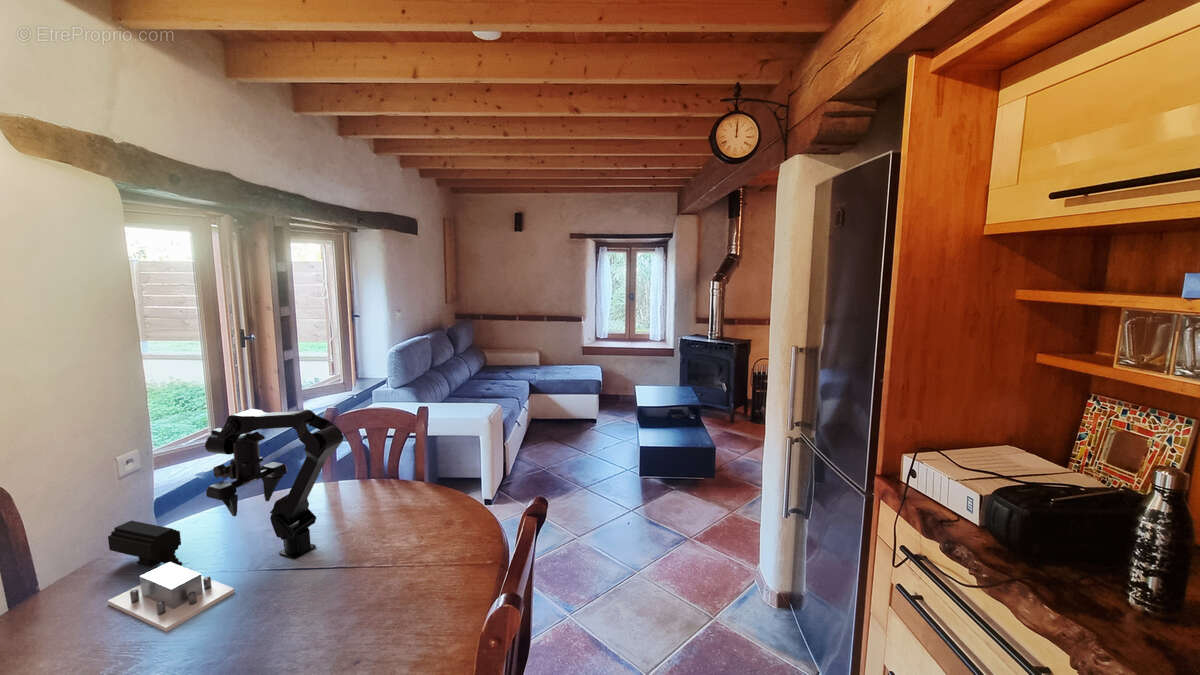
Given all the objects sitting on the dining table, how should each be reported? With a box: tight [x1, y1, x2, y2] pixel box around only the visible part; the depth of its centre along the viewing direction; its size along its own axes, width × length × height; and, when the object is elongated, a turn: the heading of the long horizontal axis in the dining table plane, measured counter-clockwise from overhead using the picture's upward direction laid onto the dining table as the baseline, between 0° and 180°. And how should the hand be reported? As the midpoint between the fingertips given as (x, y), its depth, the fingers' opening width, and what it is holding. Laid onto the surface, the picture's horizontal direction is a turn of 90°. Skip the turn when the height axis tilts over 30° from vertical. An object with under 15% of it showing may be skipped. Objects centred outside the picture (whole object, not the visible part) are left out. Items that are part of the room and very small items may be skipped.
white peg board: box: [107, 566, 235, 633], centre depth 115 cm, size 22×14×4 cm, turn 69°
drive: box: [139, 562, 203, 609], centre depth 115 cm, size 12×6×5 cm, turn 69°
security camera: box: [107, 520, 183, 568], centre depth 127 cm, size 7×18×10 cm, turn 76°
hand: (251, 508), depth 136 cm, fingers open, 9 cm apart
